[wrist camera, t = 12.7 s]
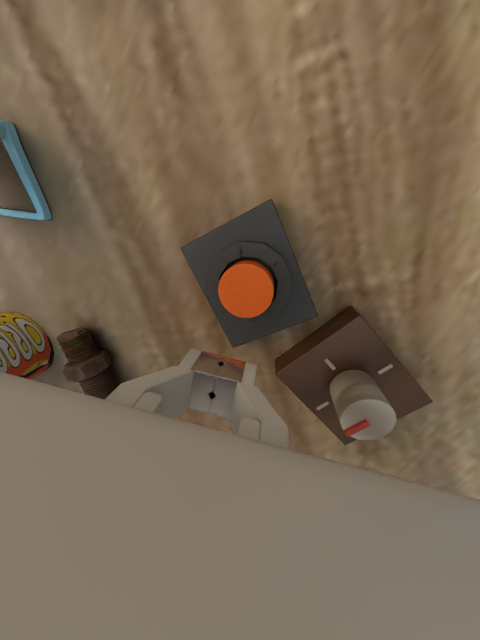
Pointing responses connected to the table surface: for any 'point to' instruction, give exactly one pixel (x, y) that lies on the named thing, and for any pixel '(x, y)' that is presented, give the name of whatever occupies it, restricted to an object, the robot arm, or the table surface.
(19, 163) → the chair
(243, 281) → the button
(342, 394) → the knob
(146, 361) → the table surface
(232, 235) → the button box
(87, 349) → the bolt
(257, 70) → the table surface
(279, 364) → the dial base
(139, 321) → the table surface
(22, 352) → the beverage can
